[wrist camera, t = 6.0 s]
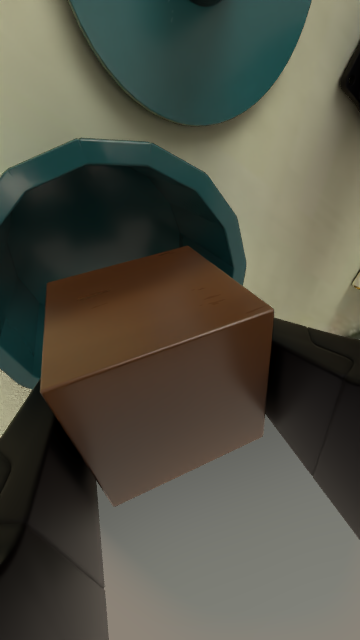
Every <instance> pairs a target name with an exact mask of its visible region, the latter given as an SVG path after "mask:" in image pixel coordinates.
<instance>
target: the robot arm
mask: <svg viewBox="0 0 360 640" xmlns="http://www.w3.org/2000/svg"><path fill="white" fill-rule="evenodd" d="M349 78H350V82H349ZM340 85H341V89H342V90H343V92H344V93H345V94H346V95H347V96H348V97H349V98H350V99H351V100H352V102H353V103H354V104H355V105H356V106H357V108H358V111H359V112H360V43H359V45H358V47H357V49H356V51H355V53H354V55H353V57H352V59H351V61H350V63H349V64H348V66H347V68H346V70H345V72H344V74H343V76H342V79H341V83H340ZM40 384H41V378H40V379H39V381H38V382H37V384H36V385H35V387H34V389H33V390H32V392H31V393H30V395H29V396H28V398H27V399H26V401H25V402H24V404H23V405H22V407H21V408H20V410H19V411H18V413H17V414H16V416H15V417H14V419H13V420H12V422H11V423H10V425H9V426H8V428H7V429H6V431H5V432H4V434H3V435H2V437H1V438H0V640H109V638H108V625H107V612H106V599H105V590H104V576H103V575H104V574H103V562H102V549H101V537H100V524H99V510H98V497H97V485H96V479H95V477H94V476H93V474H92V473H91V471H90V470H89V468H88V466H87V465H86V463H85V462H84V460H83V459H82V457H81V456H80V454H79V452H78V451H77V449H76V448H75V446H74V445H73V443H72V442H71V440H70V438H69V437H68V435H67V434H66V432H65V431H64V429H63V427H62V426H61V424H60V423H59V421H58V420H57V418H56V417H55V415H54V413H53V412H52V410H51V409H50V407H49V406H48V404H47V403H46V401H45V399H44V398H43V396H42V395H41V393H40ZM265 414H266V415H267V417H268V418H269V419H270V420H271V422H272V423H273V425H274V426H275V427H276V429H277V430H278V431H279V433H280V434H281V435H282V437H283V438H284V439H285V440H286V442H287V443H288V444H289V446H290V447H291V448H292V450H293V451H294V453H295V454H296V455H297V456H298V458H299V459H300V461H301V462H302V463H303V465H304V466H305V467H306V469H307V470H308V471H309V472H310V474H311V475H312V476H313V478H314V479H315V481H316V482H317V483H318V485H319V486H320V487H321V489H322V490H323V491H324V493H325V494H326V495H327V497H328V498H329V499H330V500H331V502H332V503H333V505H334V506H335V507H336V509H337V510H338V511H339V513H340V514H341V515H342V517H343V518H344V519H345V521H346V522H347V523H348V525H349V526H350V527H351V529H352V530H353V531H354V533H355V534H356V535H357V537H358V538H359V539H360V340H357V339H353V338H348V337H344V336H339V335H335V334H331V333H328V332H324V331H320V330H316V329H313V328H309V327H308V328H307V327H306V326H302V325H299V324H295V323H291V322H288V321H284V320H281V319H277V318H274V321H273V332H272V343H271V354H270V365H269V377H268V388H267V399H266V410H265Z"/></svg>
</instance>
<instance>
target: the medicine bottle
mask: <svg viewBox="0 0 360 640" xmlns="http://www.w3.org/2000/svg"><path fill="white" fill-rule="evenodd" d="M352 285H353V286H354V287H355V288H357V289H359V290H360V272H359V274H358V275H357V277H356V278H355V280H354V281H353V283H352Z"/></svg>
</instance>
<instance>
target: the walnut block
mask: <svg viewBox="0 0 360 640" xmlns="http://www.w3.org/2000/svg"><path fill="white" fill-rule="evenodd" d="M273 321H274V309H273V308H272V307H270V306H269V305H268V304H266V303H265V302H264V301H262V300H261V299H260V298H258V297H257V296H256V295H254V294H253V293H251V292H250V291H249V290H247V289H246V288H245V287H243V286H242V285H241V284H239V283H238V282H237V281H235V280H234V279H233V278H231V277H230V276H228V275H227V274H226V273H224V272H223V271H222V270H220V269H219V268H218V267H216V266H215V265H214V264H212V263H211V262H209V261H208V260H207V259H205V258H204V257H203V256H201V255H200V254H199V253H197V252H196V251H195V250H193V249H192V248H191V247H189V246H184V247H180V248H176V249H173V250H169V251H165V252H161V253H158V254H154V255H150V256H146V257H143V258H139V259H135V260H131V261H127V262H124V263H120V264H116V265H112V266H109V267H105V268H101V269H97V270H93V271H90V272H86V273H82V274H78V275H75V276H71V277H67V278H63V279H60V280H56V281H52V282H48V283H47V285H46V302H45V318H44V335H43V351H42V368H41V384H40V393H41V395H42V396H43V398H44V399H45V401H46V403H47V404H48V406H49V407H50V409H51V410H52V412H53V413H54V415H55V417H56V418H57V420H58V421H59V423H60V424H61V426H62V427H63V429H64V431H65V432H66V434H67V435H68V437H69V438H70V440H71V442H72V443H73V445H74V446H75V448H76V449H77V451H78V452H79V454H80V456H81V457H82V459H83V460H84V462H85V463H86V465H87V466H88V468H89V470H90V471H91V473H92V474H93V476H94V477H95V479H96V480H97V482H98V484H99V485H100V487H101V488H102V490H103V491H104V493H105V495H106V496H107V497H108V499H109V501H110V502H111V504H112V505H113V507H116V506H118V505H119V504H122V503H124V502H126V501H128V500H130V499H132V498H135V497H136V496H139V495H141V494H143V493H145V492H147V491H149V490H151V489H153V488H155V487H158V486H160V485H162V484H164V483H166V482H168V481H170V480H172V479H175V478H177V477H179V476H181V475H183V474H185V473H187V472H189V471H191V470H193V469H195V468H198V467H200V466H201V465H204V464H206V463H208V462H210V461H212V460H214V459H216V458H219V457H221V456H223V455H225V454H227V453H229V452H231V451H233V450H235V449H237V448H240V447H242V446H244V445H246V444H248V443H250V442H252V441H254V440H256V439H259V438H261V437H262V436H263V433H264V421H265V410H266V399H267V388H268V377H269V365H270V354H271V343H272V332H273Z"/></svg>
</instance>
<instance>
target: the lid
mask: <svg viewBox="0 0 360 640" xmlns="http://www.w3.org/2000/svg"><path fill="white" fill-rule="evenodd" d="M67 1H68V3H69V5H70V7H71V10H72V12H73V14H74V16H75V19H76V21H77V23H78V25H79V28H80V29H81V31H82V33H83V35H84V37H85V38H86V40H87V42H88V44H89V46H90V47H91V49H92V51H93V52H94V54H95V55H96V57H97V58H98V60H99V61H100V63H101V64H102V66H103V67H104V69H105V70H106V71H107V73H108V74H109V75H110V76H111V77H112V78H113V80H114V81H115V82H116V83H117V84H118V85H119V87H120V88H121V89H122V90H123V91H124V92H126V93H127V94H128V95H129V96H130V97H131V98H132V99H133V100H134V101H135V102H137V103H138V104H139V105H141V106H142V107H144V108H145V109H146V110H148V111H149V112H151V113H153V114H155V115H157V116H159V117H160V118H162V119H165V120H168V121H170V122H173V123H176V124H181V125H187V126H207V125H213V124H218V123H222V122H225V121H227V120H230V119H233V118H234V117H236V116H238V115H240V114H242V113H243V112H245V111H246V110H248V109H249V108H250V107H251V106H253V105H254V104H255V103H257V102H258V101H259V100H260V99H261V98H262V96H263V95H264V94H265V93H266V92H267V91H268V90H269V89H270V88H271V86H272V85H273V84H274V82H275V81H276V80H277V79H278V77H279V75H280V74H281V72H282V71H283V69H284V67H285V66H286V64H287V63H288V61H289V59H290V57H291V55H292V53H293V51H294V49H295V47H296V44H297V42H298V39H299V37H300V34H301V32H302V29H303V27H304V24H305V21H306V17H307V14H308V11H309V8H310V4H311V0H67Z"/></svg>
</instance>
